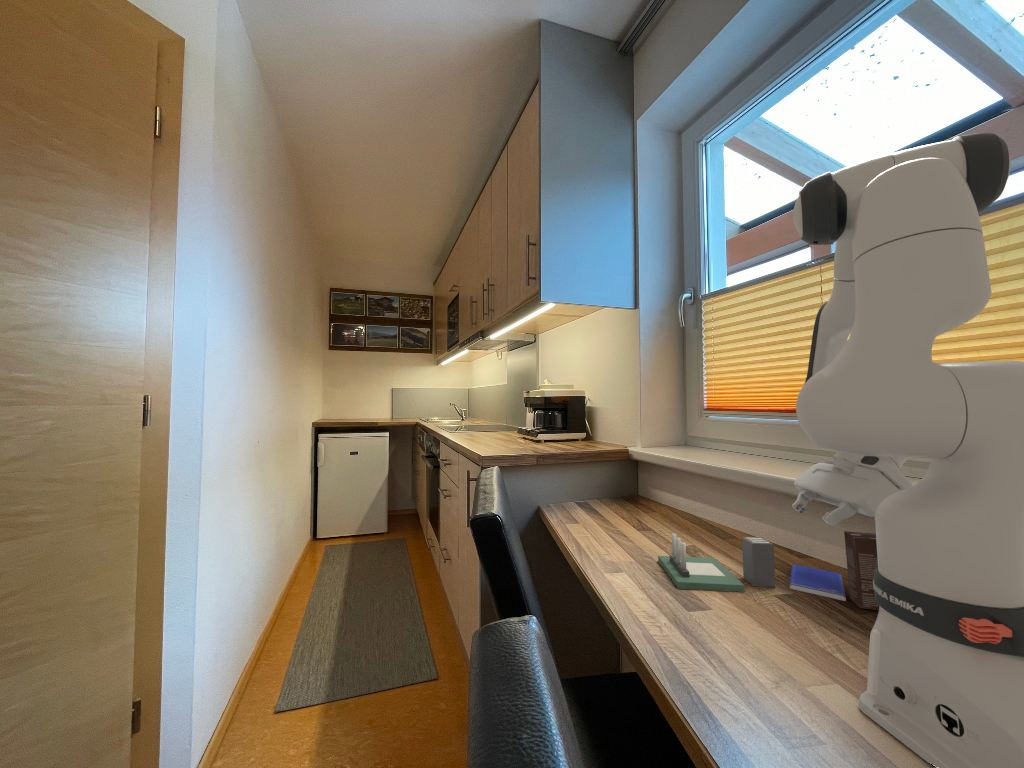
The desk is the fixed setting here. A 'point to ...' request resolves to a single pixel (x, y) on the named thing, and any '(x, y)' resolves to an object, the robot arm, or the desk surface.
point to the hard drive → (817, 582)
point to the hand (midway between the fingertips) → (810, 515)
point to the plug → (758, 561)
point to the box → (861, 568)
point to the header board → (697, 571)
